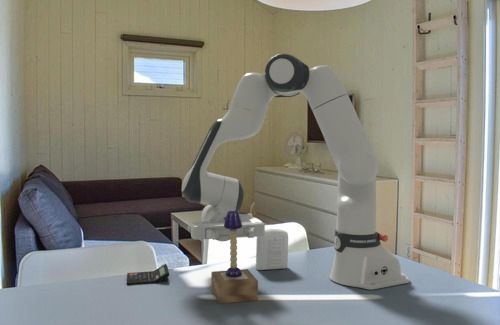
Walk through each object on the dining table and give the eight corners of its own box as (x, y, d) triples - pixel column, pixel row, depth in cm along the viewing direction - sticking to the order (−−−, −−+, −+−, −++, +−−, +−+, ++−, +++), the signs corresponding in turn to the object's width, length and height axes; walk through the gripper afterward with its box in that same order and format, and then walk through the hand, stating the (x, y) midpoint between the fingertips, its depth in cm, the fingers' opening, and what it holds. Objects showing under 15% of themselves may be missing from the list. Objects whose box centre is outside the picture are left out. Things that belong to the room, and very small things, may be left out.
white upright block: (284, 265, 144) (285, 227, 143) (289, 269, 140) (290, 229, 139) (254, 267, 141) (254, 228, 140) (258, 271, 137) (258, 231, 136)
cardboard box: (247, 287, 123) (247, 268, 123) (257, 300, 113) (257, 279, 113) (211, 290, 120) (211, 270, 120) (218, 303, 111) (218, 282, 110)
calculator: (127, 275, 133) (127, 265, 133) (167, 273, 136) (167, 263, 135) (126, 286, 124) (126, 275, 123) (169, 283, 127) (169, 272, 126)
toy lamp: (240, 278, 114) (240, 213, 113) (222, 277, 115) (222, 212, 114) (243, 272, 119) (243, 210, 118) (225, 271, 119) (226, 209, 118)
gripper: (186, 215, 126) (194, 225, 113) (256, 213, 132) (271, 222, 119) (186, 237, 127) (193, 249, 113) (256, 234, 132) (270, 245, 119)
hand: (234, 235), depth 116 cm, fingers open, 8 cm apart
